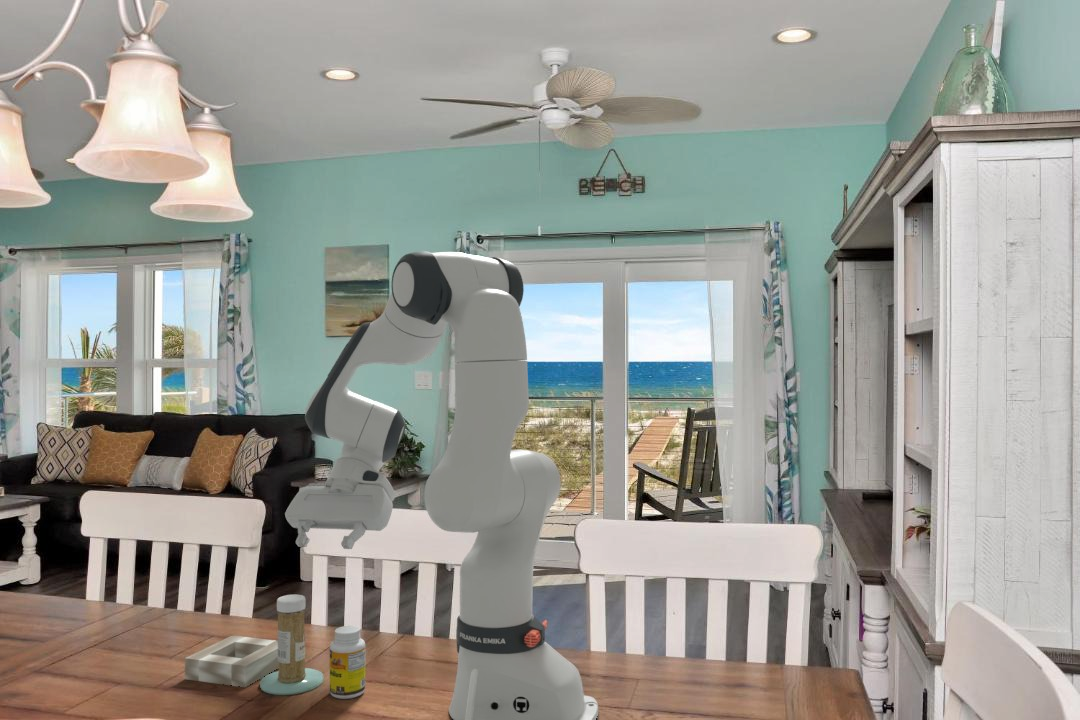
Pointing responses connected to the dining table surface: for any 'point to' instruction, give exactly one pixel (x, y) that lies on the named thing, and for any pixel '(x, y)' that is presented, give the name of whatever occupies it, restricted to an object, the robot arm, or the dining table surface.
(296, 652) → the sprinkles bottle
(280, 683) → the coaster
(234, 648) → the bore block
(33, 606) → the dining table surface
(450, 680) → the dining table surface
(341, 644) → the supplement bottle
